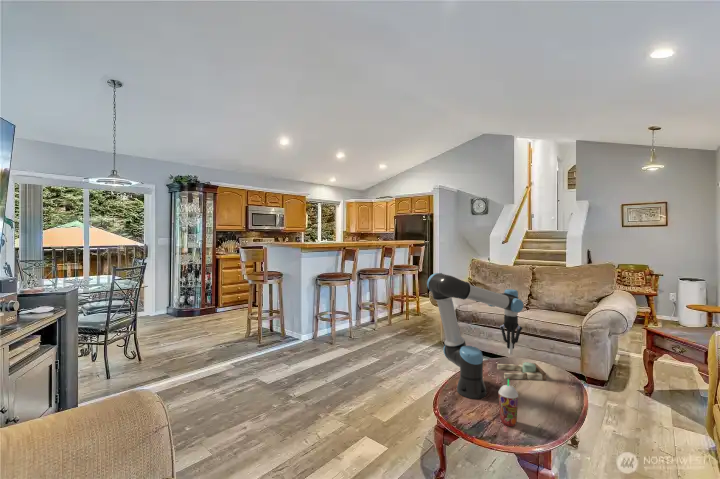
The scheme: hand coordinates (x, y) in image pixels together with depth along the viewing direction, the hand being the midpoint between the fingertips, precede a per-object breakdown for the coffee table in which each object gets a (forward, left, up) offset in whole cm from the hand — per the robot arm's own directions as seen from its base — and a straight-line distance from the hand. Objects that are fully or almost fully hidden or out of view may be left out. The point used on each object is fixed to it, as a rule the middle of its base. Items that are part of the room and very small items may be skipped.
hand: (510, 353), depth 205 cm
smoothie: (-18, -55, -13) cm, 59 cm away
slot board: (+6, 0, -13) cm, 14 cm away
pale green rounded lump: (+11, 0, -12) cm, 16 cm away
